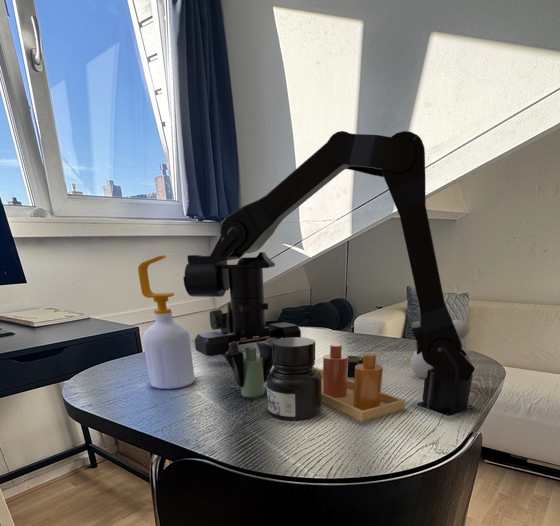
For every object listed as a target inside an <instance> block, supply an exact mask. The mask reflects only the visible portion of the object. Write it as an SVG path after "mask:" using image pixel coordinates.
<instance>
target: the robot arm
mask: <svg viewBox="0 0 560 526" xmlns="http://www.w3.org/2000/svg"><path fill="white" fill-rule="evenodd" d="M345 170H349V171H354V172H359V173H362V174H366V175H369V176H374V177H381V178H383V179H384V181H385V184H386V186H387V189H388V191H389V193H390V197H391V198H392V201H393V203H394V206H395V208H396V210H397V213H398V216H399V218H400V219H399V220H400V223H401V228H402V232H403V233H402V234H403V237H404V242H405V247H406V251H407V256H408V260H409V264H410V269H411V275H412V279H413V284H414V287H415V292H416V297H417V302H418V306H419V320H416V321H412V322H411V331H412V334H413V336H414V339H415V341H416V342H415V347H416V350H417V354H420V353H421V352H422V357H423V359H424V361H425V362H426V363H427V364H429V365H431V366H432V367H433V369H429V370H428V372H427V377H426V378H425V379H424V383H423V390H422V391H423V392H422V398H421V399H422V401H420V402H417V404H416V405H417V406H419V407H421V408H424V409H428V410H430V411H433V412H435V413H437V414H440V415H442V416H443V415H444V416H446V417H451V416H454V415H457V414H459V413H462V412H465V411H468V410H471V409H473V408H474V406H473V405H471V404H469V399H470V395H471V388H472V382H473V376H474V374H473V373H474V372H475V370H476V368H475V366H474V364H473V363H472V360H471V359H470V356H469V355H468V353H467V352H466V351H465V350H464V348H463V344H462V341H461V339H460V338H459V336H458V334H457V331H456V329H455V326H454V324H453V319H452V317H451V314H450V312H449V310H448V307H447V304H446V302H445V297H444V291H443V288H442V282H441V276H440V272H439V268H438V261H437V256H436V252H435V246H434V241H433V237H432V236H433V235H432V231H431V226H430V221H429V216H428V211H427V206H426V205H427V204H426V201H427V200H426V150H425V145H424V142H423V140H422V138H421V137H420V136H419V135H418V134H416V133H414V132H412V131H407V130H403V131H399V132H396V133H395V134H393V135H392V136H386V135H381V134H364V133H363V134H362V133H361V134H360V133H352V132H348V131H344V130H341V131H340V130H339V131H337V132H335V133H333V134H332V135H331V136H330V137H329V138H328V140H327V141H326V142H325V143H323V145H322V146H321V147H320V148H318V150H316V151H315V152H314V153H313V154H312V155H311V156H309V157H308V158H307V159H306V160H305V161H303V162H302V163H301V164H300V165H299V166H297V168H295V169H294V170H293V171H292V172H291V173H290V174H288V176H286V177H285V178H284V179H283V180H281V181H280V182H279V183H278V184H277V185H276V186H275V187H273V189H271V190H270V191H269V192H267V194H266V195H264V196H263V197H262V196H261V198H258V199H257V200H255V201H252V202H250V203H248V204H246V205H243V206H241V207H240V208H238V209H237V210H235V211H233V212H232V213H230V214H228V215H227V216H226V217H225V218H224V219H223V220H222V222H221V224H220V236H219V238H218V240H217V242H216V244H215V245H214V248H213V249H212V251H211V253H210V255H202V254H188V255H187V264H186V265H185V268H184V275H183V278H182V280H183V285H184V288H185V291H186V293H187V295H188V296H190V297H192V298H199V297H201V298H203V297H204V298H205V297H206V298H215V297H216V298H219V297H220V298H222V297H224V296H225V295H226V293H227V291H229V296H230V302H227V307H226V308H227V312H223V311H222V310H221V309H216V310H210V311H209V324H210V328H211V329H212V331H210V332H204V333H197V335H196V336H195V338H194V347H195V351H196V352H198V353H201V354H202V355H204V356H206V357H213V356H219V355H220V356H222V357H224V358H225V360H226V362H227V363H228V365H229V367H230V369H231V372H232V373H233V376H234V378H235V381H236V383H237V385H238V387H240V388H241V387H243V384H244V362H243V357H244V352H242V351H240V350H239V346H240V345H246V344H247V345H248V344H253V343H256V346H257V348H258V351H259V357H262V358H263V370H264V383H267V376H268V374H269V373H270V372H271V371H272V369H273V367H274V366H273V360H272V341H274V340H277V339H280V338H290V337H302V331H301V328H300V327H299V325H297V324H294V323H289V322H285V321H284V322H276V323H275V322H274V323H269V324H268V327H267V326H266V316H265V315H266V314H265V310H269V303H268V302H265V294H264V293H265V290H264V270H263V269H270V268H274V267H275V265H276V263H275V262H274V261H273V260H272V259H271V258H270V257H269V256H268V255H267V253H266V252H265V251H261V252H258V251H259V250H260V249H261V248H262V247H263V246H264V245H265V244H266V242H267V241H268V240H269V239H270V238H271V237H272V236H273V235H274V233H275V231H276V230H277V228H278V227H279V225H280V224H281V223H282V222H283V221H284V220H285V219H286V218H287V217H288V216H289V215H291V214H292V213H293V212H294V211H295V210H297V209H298V208H299V207H300V206H301V205H303V204H304V203H305V202H307V201H308V200H309V199H310V198H311V197H313V196H314V195H315V194H316V193H318V192H319V191H320V190H321V189H322V188H324V187H325V186H327V185H328V184H329V183H330V182H331V181H332V180H334V179H335V178H336V177H337V176H339V174H341V173H342V172H343V171H345ZM256 252H258V254H257V256H252V257H249V256H248V257H246V256H245V255H246V254H252V253H256ZM243 256H245V257H243ZM233 260H238V261H237V263H236V264H228V261H233ZM215 330H220V332H218V331H215Z"/></svg>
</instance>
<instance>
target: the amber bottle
mask: <svg viewBox="0 0 560 526" xmlns="http://www.w3.org/2000/svg"><path fill="white" fill-rule="evenodd" d="M362 355H363V356H362V357H363V364H358V365H356V366H355V376H354V380H353V381H354V400H353V406H354V407H356V408H358V409H360V410H363V411H364V410H367V409H371V408H374V407H378V406H380V400H381V392H382V385H383V373H384V367H383V365H381V364H378V363H377V354H376V353H373V352H367V353H366V352H365V353H363V354H362Z"/></svg>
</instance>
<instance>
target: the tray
mask: <svg viewBox="0 0 560 526" xmlns="http://www.w3.org/2000/svg"><path fill="white" fill-rule="evenodd" d="M313 367H314V368H315V369H316V370H317V371H318V372H319V373H320V375H321V379H322V382H321V404H324V405H325V406H328V407H329V408H332V409H334V410H336V411H338V412H341V413H343V414H344V415H347V416H348V417H351V418H353V419H355V420H358V421H359V422H361V423H363V422H366V421H370V420H374V419H376V418H380V417H383V416H386V415H390V414H393V413H396V412H399V411H403V410H405V404H406V400H405V399H403V398H400V397H398V396H396V395H395V396H394V395H392V394H389V393H386V392H384V391H381V400H380V406H378V407H374V408H371V409H367V410H364V411H363V410H360V409H358V408H356V407H354V406H353V400H354V380H351V379H348V378H347V395H346V396H344V397H340V398H333V397H331V396H329V395H326V394H324V393H323V369H322V368H318V367H315V366H313Z"/></svg>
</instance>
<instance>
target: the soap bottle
mask: <svg viewBox="0 0 560 526" xmlns="http://www.w3.org/2000/svg"><path fill="white" fill-rule="evenodd" d="M166 258H167V256H166V255H164V254H163V255H158V256H156V257H153V258H150V259H148V260H146V261H145V260H144V261H143V262H141V263H140V264H139V265H138V267H137V272H138V277H139V283H140V284H139V285H140V289H141V294H142V295H143V296H144V297H145V298H147V299H153V302H154V303H156V306H157V308H156V309H154V310H153V315H154V323H153V324H152V325H150V326H149V327H148V328H147V329H146V330H145V331H144V333H143V336H142V342H143V343H142V344H143V348H144V354H145V355H144V356H145V361H146V367H147V373H148V379H149V384H150V385H151V386H152V388H156V389H159V390H174V389H180V388H181V389H182V388H184V387H187V386H189V385H192V383H194V382H195V372H194V371H195V369H194V363H193V354H192V346H191V338H190V333H189V332H188V330H187V329H186V328H185V327H184V326H183V325H181V324H179V323H177V322H176V321H174V320H173V312H172V308H167V302H169V298H171V297H173V296H175V293H174V292H158V293H157V292H153V291H152V290H151V286H150V280H149V273H148V272H149V271H148V268H149V266H150V265H151V264H153V263H157V262H158V261H162V260H163V259H166Z"/></svg>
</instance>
